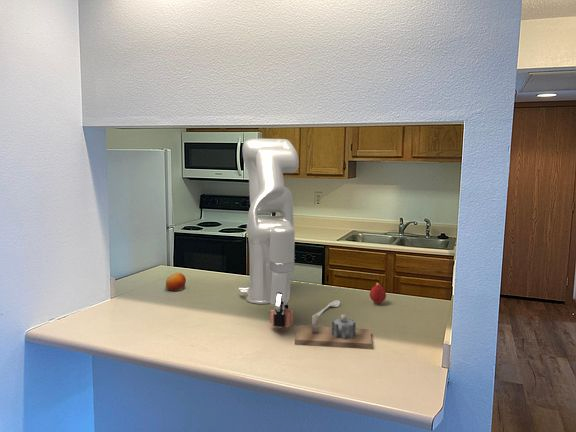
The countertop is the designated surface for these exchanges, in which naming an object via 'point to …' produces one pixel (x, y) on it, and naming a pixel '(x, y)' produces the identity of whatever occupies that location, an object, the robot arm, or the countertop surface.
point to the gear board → (334, 334)
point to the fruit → (176, 282)
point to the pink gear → (288, 317)
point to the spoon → (328, 306)
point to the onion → (377, 294)
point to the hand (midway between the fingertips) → (281, 320)
